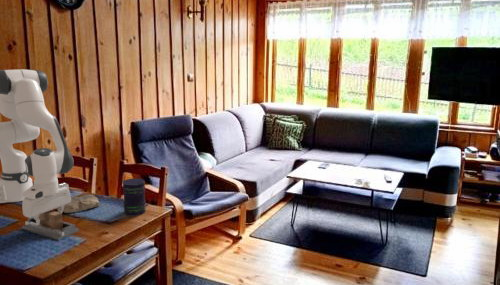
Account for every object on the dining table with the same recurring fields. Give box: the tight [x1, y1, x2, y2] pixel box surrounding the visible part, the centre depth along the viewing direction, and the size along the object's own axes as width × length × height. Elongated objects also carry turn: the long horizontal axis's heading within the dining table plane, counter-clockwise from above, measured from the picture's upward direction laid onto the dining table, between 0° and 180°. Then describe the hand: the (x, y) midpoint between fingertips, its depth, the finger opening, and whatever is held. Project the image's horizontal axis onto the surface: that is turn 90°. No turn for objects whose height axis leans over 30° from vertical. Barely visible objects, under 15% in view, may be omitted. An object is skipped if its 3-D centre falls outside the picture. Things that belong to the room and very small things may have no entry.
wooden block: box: [38, 210, 63, 230], centre depth 168 cm, size 12×4×7 cm, turn 64°
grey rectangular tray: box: [21, 217, 80, 241], centre depth 168 cm, size 22×10×3 cm, turn 64°
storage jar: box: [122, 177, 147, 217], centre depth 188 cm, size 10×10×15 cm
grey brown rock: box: [55, 194, 100, 214], centre depth 193 cm, size 14×5×20 cm
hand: (49, 220), depth 168 cm, fingers open, 8 cm apart
